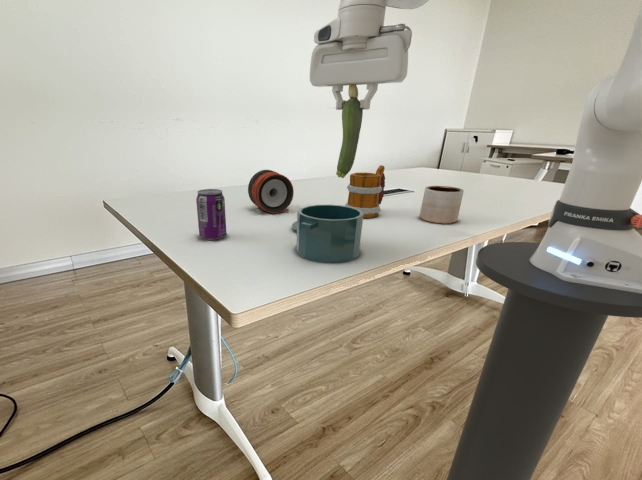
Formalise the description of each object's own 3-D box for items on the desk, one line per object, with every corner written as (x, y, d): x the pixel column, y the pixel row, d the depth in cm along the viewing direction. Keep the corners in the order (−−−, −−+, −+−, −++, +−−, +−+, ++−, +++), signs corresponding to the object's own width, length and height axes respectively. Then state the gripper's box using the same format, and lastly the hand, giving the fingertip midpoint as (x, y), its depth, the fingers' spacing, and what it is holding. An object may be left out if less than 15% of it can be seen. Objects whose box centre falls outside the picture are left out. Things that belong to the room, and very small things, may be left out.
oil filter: (257, 215, 112) (256, 174, 106) (246, 207, 122) (245, 169, 117) (293, 212, 116) (294, 172, 110) (279, 204, 126) (280, 167, 121)
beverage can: (229, 239, 89) (226, 192, 84) (201, 242, 87) (197, 194, 82) (223, 232, 95) (221, 188, 90) (197, 234, 93) (193, 189, 88)
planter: (439, 214, 114) (445, 184, 110) (465, 222, 105) (472, 191, 101) (411, 216, 111) (417, 186, 107) (435, 225, 102) (442, 193, 98)
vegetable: (350, 176, 81) (361, 78, 72) (357, 180, 77) (371, 77, 68) (332, 177, 80) (342, 77, 71) (339, 180, 76) (350, 76, 67)
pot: (374, 246, 84) (379, 208, 80) (333, 272, 70) (336, 227, 66) (323, 235, 93) (325, 200, 89) (277, 255, 79) (277, 215, 75)
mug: (337, 214, 114) (341, 166, 108) (367, 206, 124) (372, 163, 117) (364, 220, 106) (370, 170, 100) (393, 212, 116) (400, 166, 110)
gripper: (419, 25, 63) (406, 109, 68) (323, 39, 74) (319, 110, 80) (407, 17, 58) (394, 108, 64) (307, 34, 70) (304, 109, 76)
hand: (352, 109), depth 72 cm, fingers closed on vegetable, 4 cm apart
